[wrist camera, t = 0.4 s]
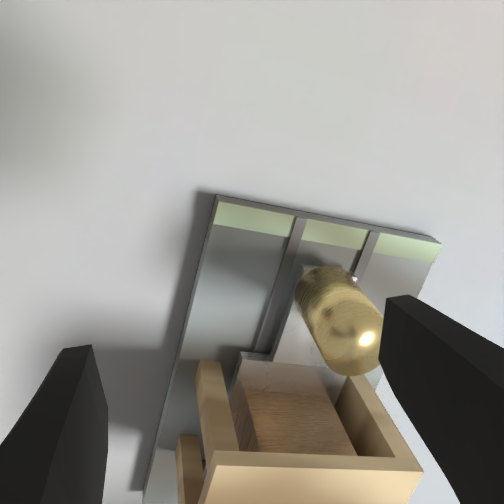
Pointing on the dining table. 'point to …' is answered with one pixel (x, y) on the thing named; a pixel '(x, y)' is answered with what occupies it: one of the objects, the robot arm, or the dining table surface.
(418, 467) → the track
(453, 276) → the dining table surface
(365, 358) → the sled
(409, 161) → the dining table surface
